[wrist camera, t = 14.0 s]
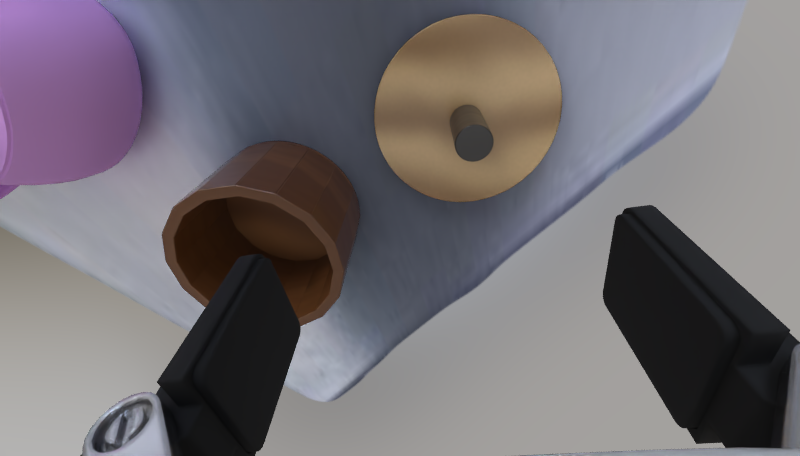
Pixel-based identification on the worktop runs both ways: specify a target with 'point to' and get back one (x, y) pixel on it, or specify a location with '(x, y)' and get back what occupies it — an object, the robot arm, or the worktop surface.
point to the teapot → (64, 92)
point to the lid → (468, 107)
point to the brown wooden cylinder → (268, 225)
